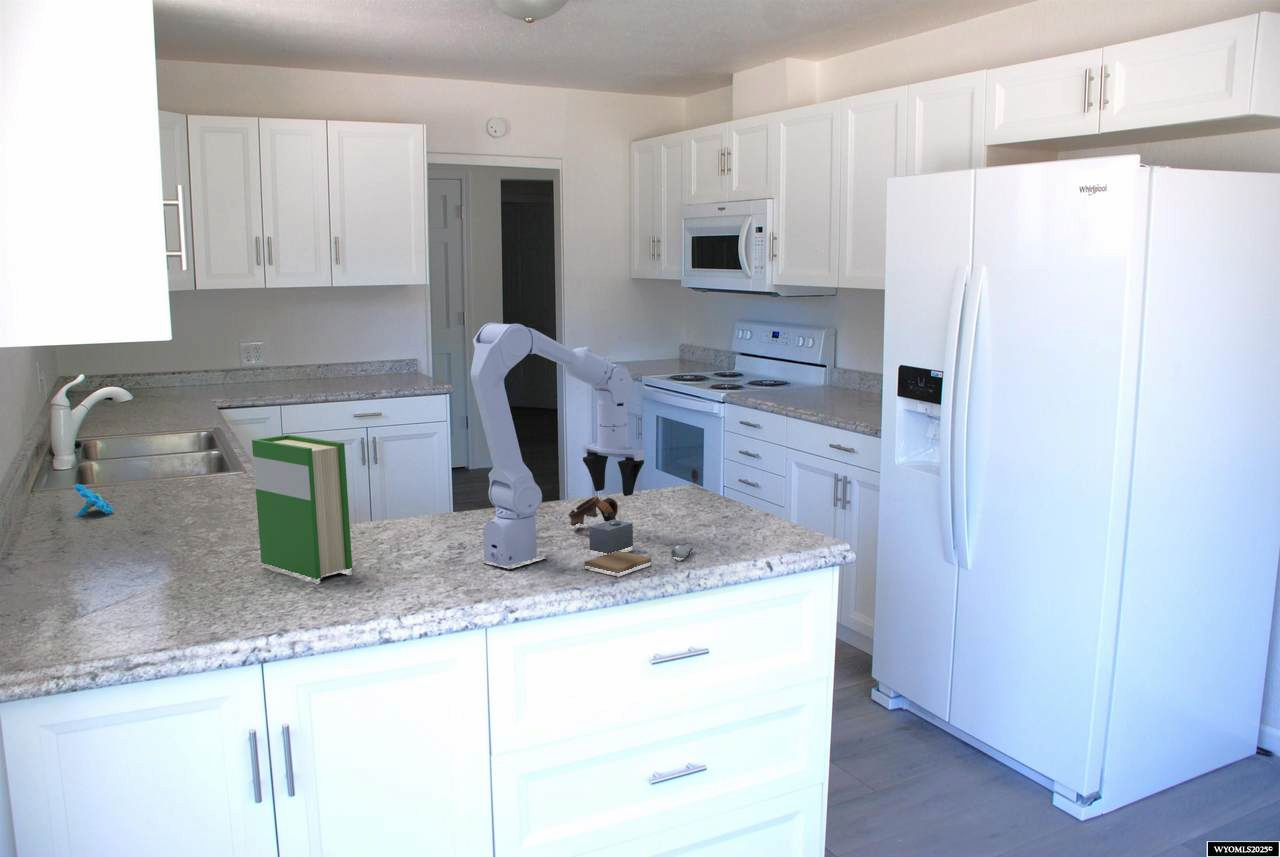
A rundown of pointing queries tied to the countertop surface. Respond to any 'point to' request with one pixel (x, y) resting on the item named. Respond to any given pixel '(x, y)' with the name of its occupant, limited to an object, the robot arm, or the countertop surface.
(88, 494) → the blue fuzzy irregular piece
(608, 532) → the block
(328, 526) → the hardback book
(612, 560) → the stand
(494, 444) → the robot arm
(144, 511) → the countertop surface
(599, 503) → the brown irregular piece
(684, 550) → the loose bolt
